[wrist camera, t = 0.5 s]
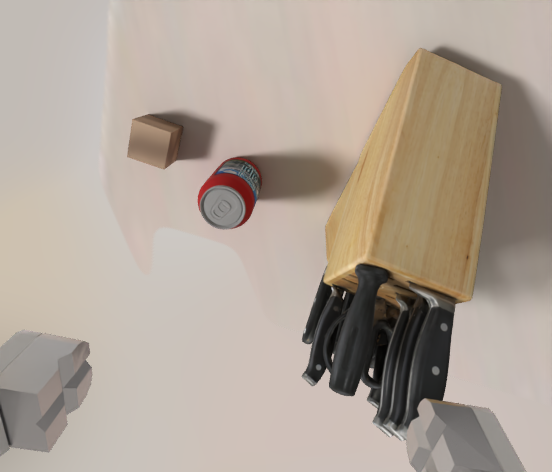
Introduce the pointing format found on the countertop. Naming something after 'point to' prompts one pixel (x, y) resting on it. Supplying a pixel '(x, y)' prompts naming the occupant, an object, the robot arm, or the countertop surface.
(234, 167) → the beverage can
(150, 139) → the walnut block
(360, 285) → the knife block
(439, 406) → the robot arm
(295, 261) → the countertop surface
